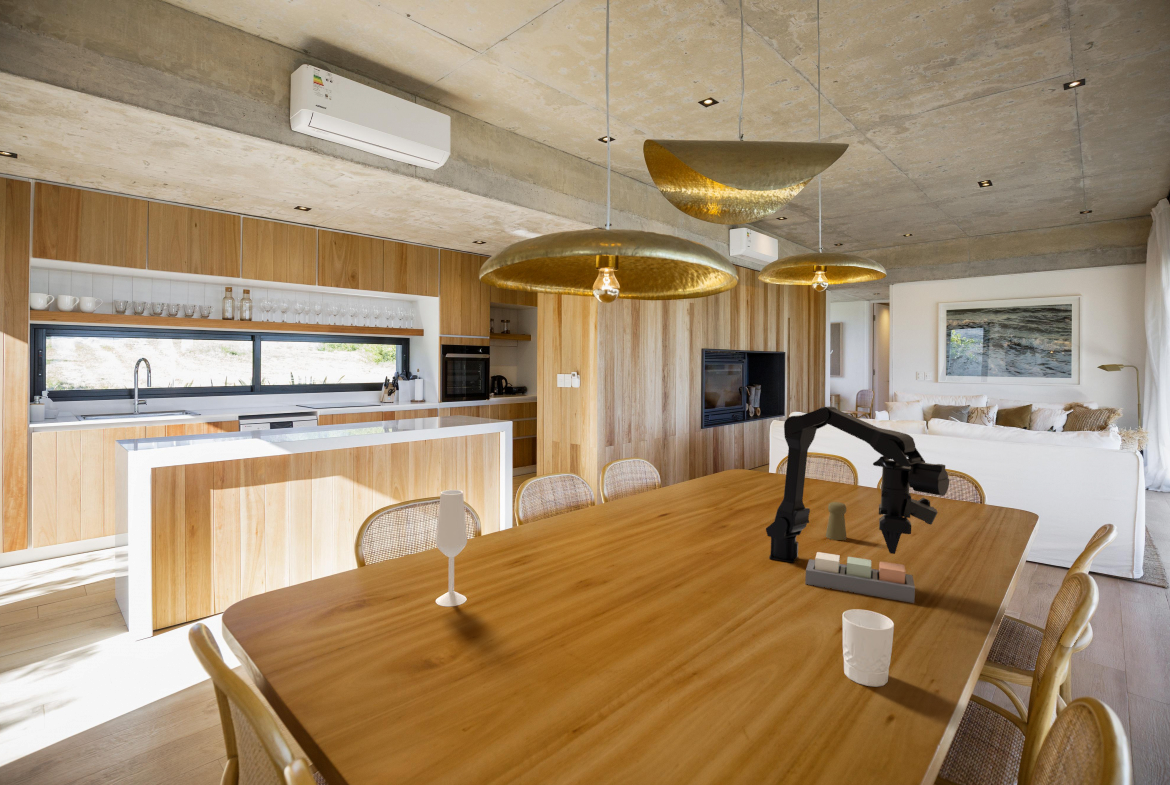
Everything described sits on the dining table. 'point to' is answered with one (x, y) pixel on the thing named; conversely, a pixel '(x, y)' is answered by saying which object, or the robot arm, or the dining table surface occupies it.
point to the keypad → (861, 583)
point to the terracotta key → (892, 572)
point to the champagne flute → (451, 538)
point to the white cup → (867, 646)
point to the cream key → (827, 562)
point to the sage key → (859, 567)
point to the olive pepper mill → (836, 521)
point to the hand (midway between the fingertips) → (892, 553)
